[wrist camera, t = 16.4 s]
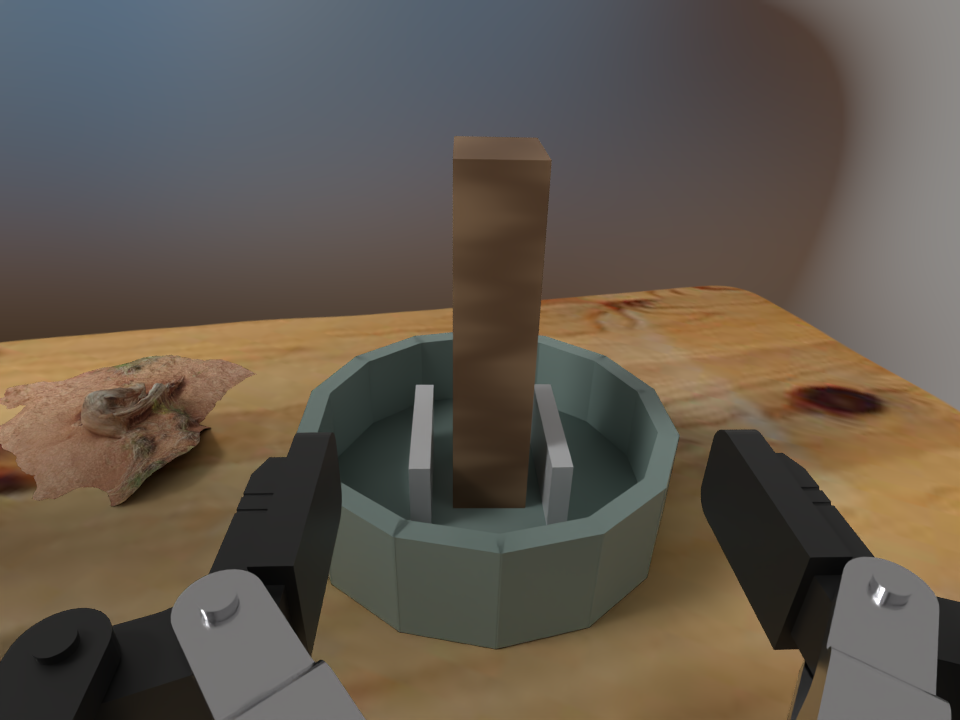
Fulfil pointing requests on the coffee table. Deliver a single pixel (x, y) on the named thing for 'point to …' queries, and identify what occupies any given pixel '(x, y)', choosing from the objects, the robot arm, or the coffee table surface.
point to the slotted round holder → (493, 531)
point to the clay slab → (113, 422)
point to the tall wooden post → (496, 313)
